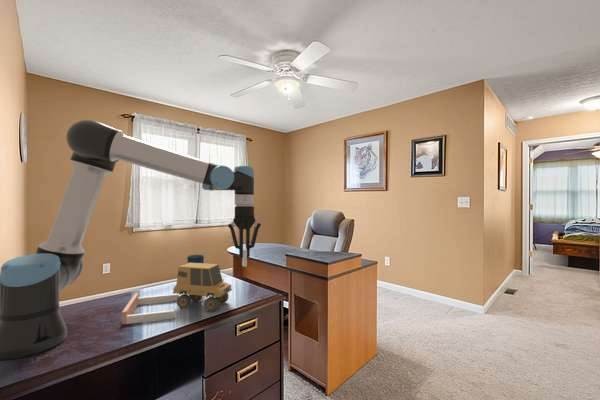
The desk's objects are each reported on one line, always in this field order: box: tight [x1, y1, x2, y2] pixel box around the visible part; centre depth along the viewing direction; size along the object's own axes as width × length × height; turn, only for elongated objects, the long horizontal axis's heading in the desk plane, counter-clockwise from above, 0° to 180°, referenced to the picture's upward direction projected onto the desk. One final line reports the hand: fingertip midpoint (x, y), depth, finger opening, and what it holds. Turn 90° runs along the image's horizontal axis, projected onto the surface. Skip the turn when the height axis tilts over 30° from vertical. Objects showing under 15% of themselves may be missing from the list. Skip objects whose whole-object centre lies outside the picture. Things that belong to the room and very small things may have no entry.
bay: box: [121, 292, 180, 325], centre depth 99 cm, size 15×18×4 cm
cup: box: [186, 254, 205, 263], centre depth 122 cm, size 7×7×15 cm
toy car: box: [172, 262, 233, 312], centre depth 105 cm, size 10×19×15 cm, turn 78°
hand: (244, 265), depth 110 cm, fingers closed
